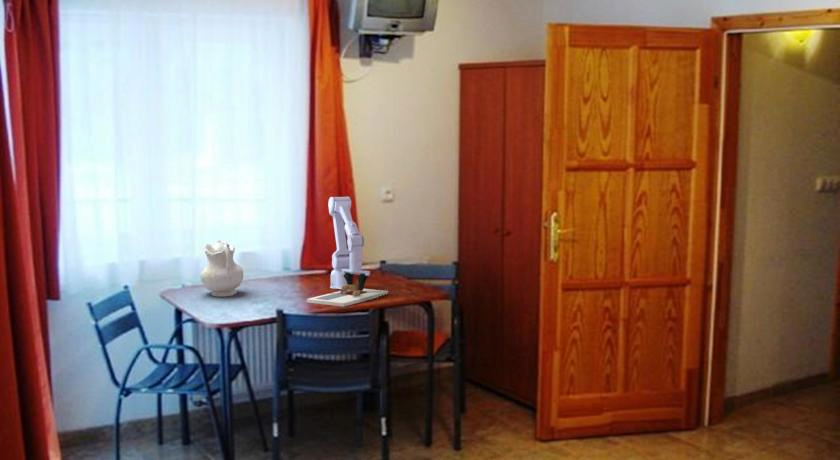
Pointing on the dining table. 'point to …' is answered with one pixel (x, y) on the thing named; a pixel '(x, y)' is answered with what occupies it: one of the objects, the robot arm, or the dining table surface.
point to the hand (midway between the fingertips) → (355, 289)
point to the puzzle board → (340, 298)
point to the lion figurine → (350, 287)
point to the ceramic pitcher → (221, 270)
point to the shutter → (368, 294)
